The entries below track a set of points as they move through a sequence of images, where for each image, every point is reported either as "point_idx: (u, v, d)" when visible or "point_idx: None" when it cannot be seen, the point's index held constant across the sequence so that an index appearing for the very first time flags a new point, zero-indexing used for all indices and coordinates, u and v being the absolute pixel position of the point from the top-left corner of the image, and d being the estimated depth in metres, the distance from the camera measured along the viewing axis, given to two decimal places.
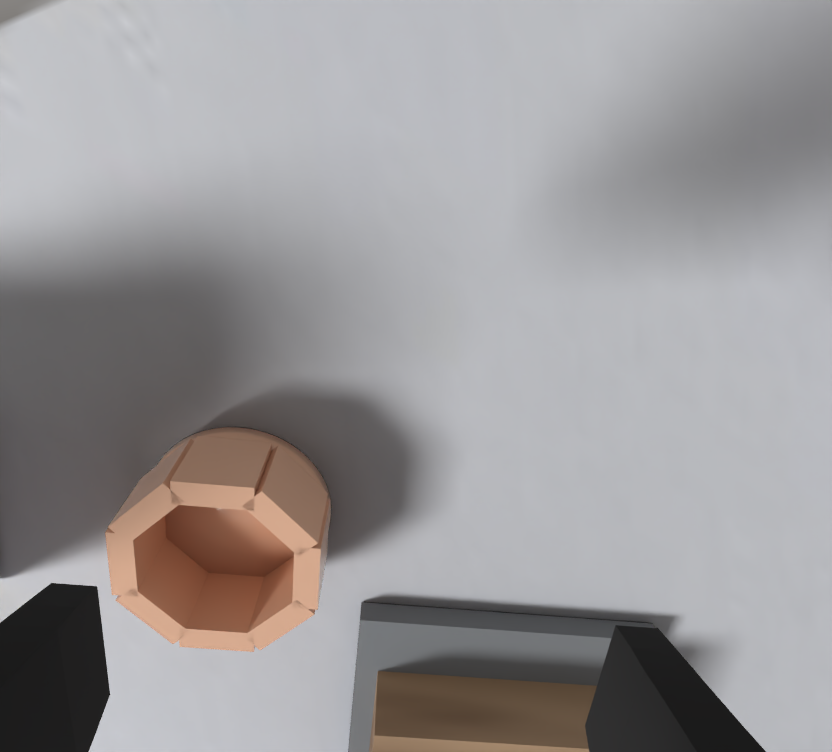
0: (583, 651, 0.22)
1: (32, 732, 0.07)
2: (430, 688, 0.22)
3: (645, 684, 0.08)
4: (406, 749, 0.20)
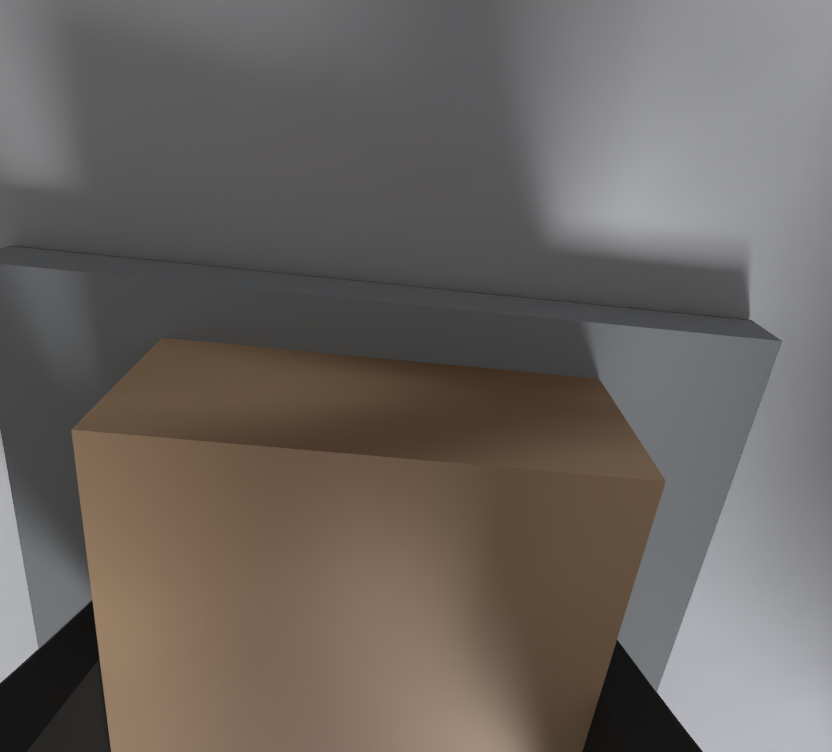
0: (55, 444, 0.09)
1: (97, 736, 0.07)
2: None
3: None
4: None
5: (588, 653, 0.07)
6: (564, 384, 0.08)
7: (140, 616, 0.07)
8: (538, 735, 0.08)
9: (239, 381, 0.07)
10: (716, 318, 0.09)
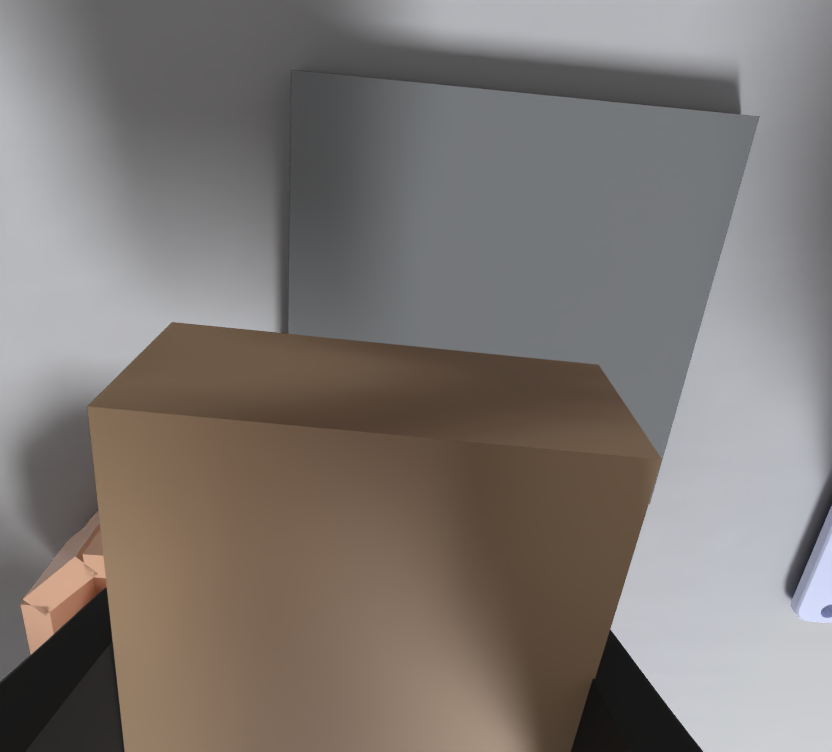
0: (320, 193, 0.15)
1: (96, 736, 0.07)
2: None
3: None
4: None
5: (587, 630, 0.07)
6: (564, 369, 0.08)
7: (153, 589, 0.07)
8: (537, 710, 0.08)
9: (248, 362, 0.07)
10: None
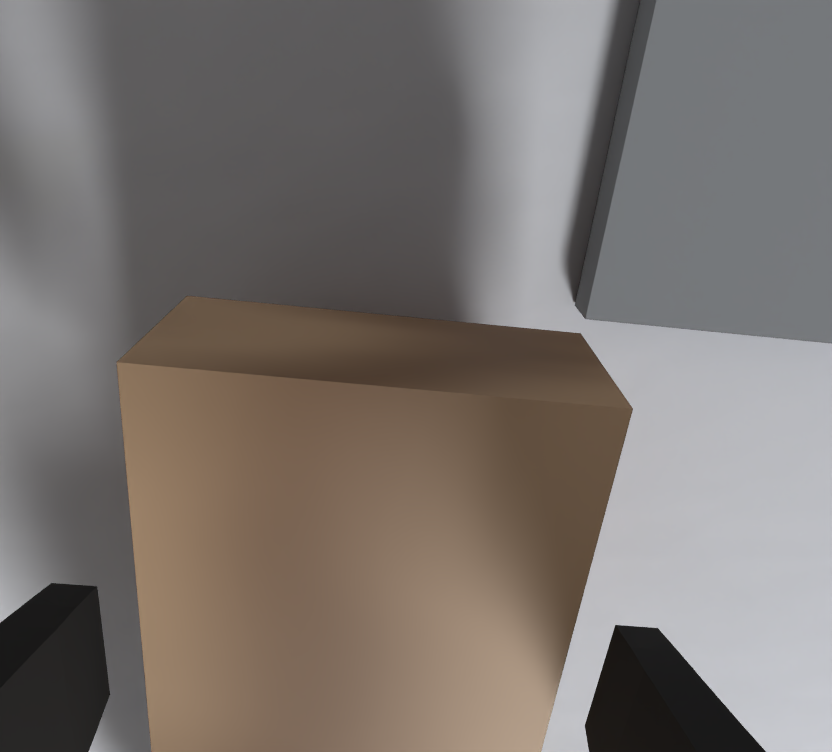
0: None
1: (32, 732, 0.07)
2: None
3: (645, 684, 0.08)
4: None
5: (569, 569, 0.08)
6: (548, 337, 0.09)
7: (173, 534, 0.08)
8: (525, 648, 0.09)
9: (258, 329, 0.08)
10: None
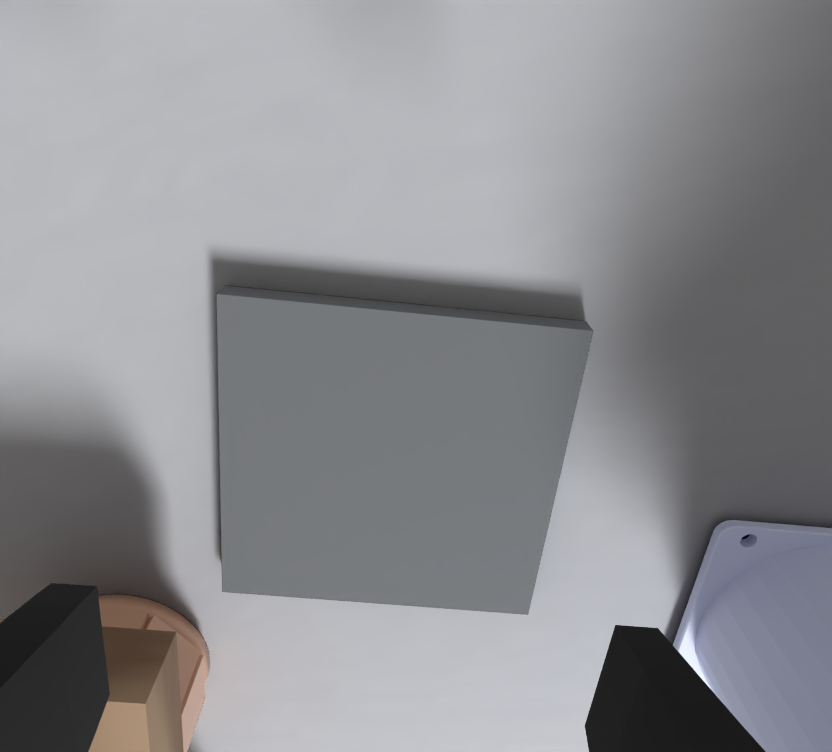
0: (243, 381, 0.18)
1: (32, 732, 0.07)
2: None
3: (645, 684, 0.08)
4: None
5: None
6: (154, 638, 0.18)
7: None
8: None
9: None
10: (567, 320, 0.18)
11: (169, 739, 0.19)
